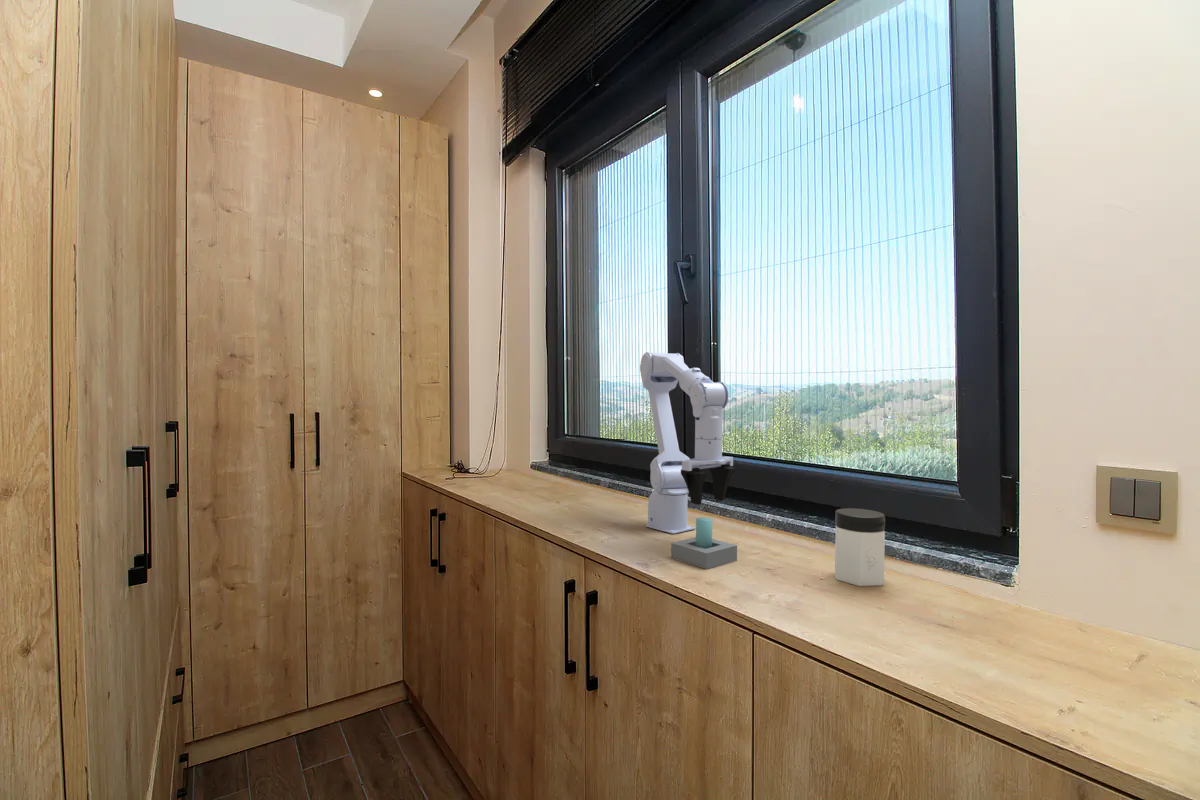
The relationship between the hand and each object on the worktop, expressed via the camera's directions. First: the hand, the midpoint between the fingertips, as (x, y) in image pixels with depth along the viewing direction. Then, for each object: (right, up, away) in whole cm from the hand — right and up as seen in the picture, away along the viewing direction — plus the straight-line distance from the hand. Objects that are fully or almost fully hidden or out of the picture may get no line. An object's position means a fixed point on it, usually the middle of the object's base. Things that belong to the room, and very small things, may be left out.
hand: (707, 501), depth 121 cm
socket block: (-2, -10, -8) cm, 13 cm away
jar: (+24, -11, -19) cm, 32 cm away
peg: (-2, -10, -8) cm, 13 cm away
